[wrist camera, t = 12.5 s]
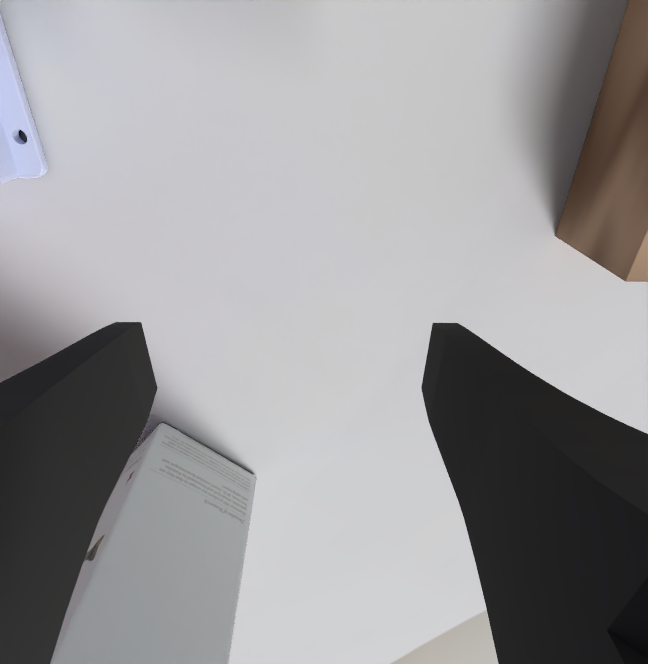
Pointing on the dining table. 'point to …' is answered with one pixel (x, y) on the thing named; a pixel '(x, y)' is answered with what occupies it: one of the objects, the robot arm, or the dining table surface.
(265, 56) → the dining table surface
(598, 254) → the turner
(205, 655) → the supplement box
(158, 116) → the dining table surface
